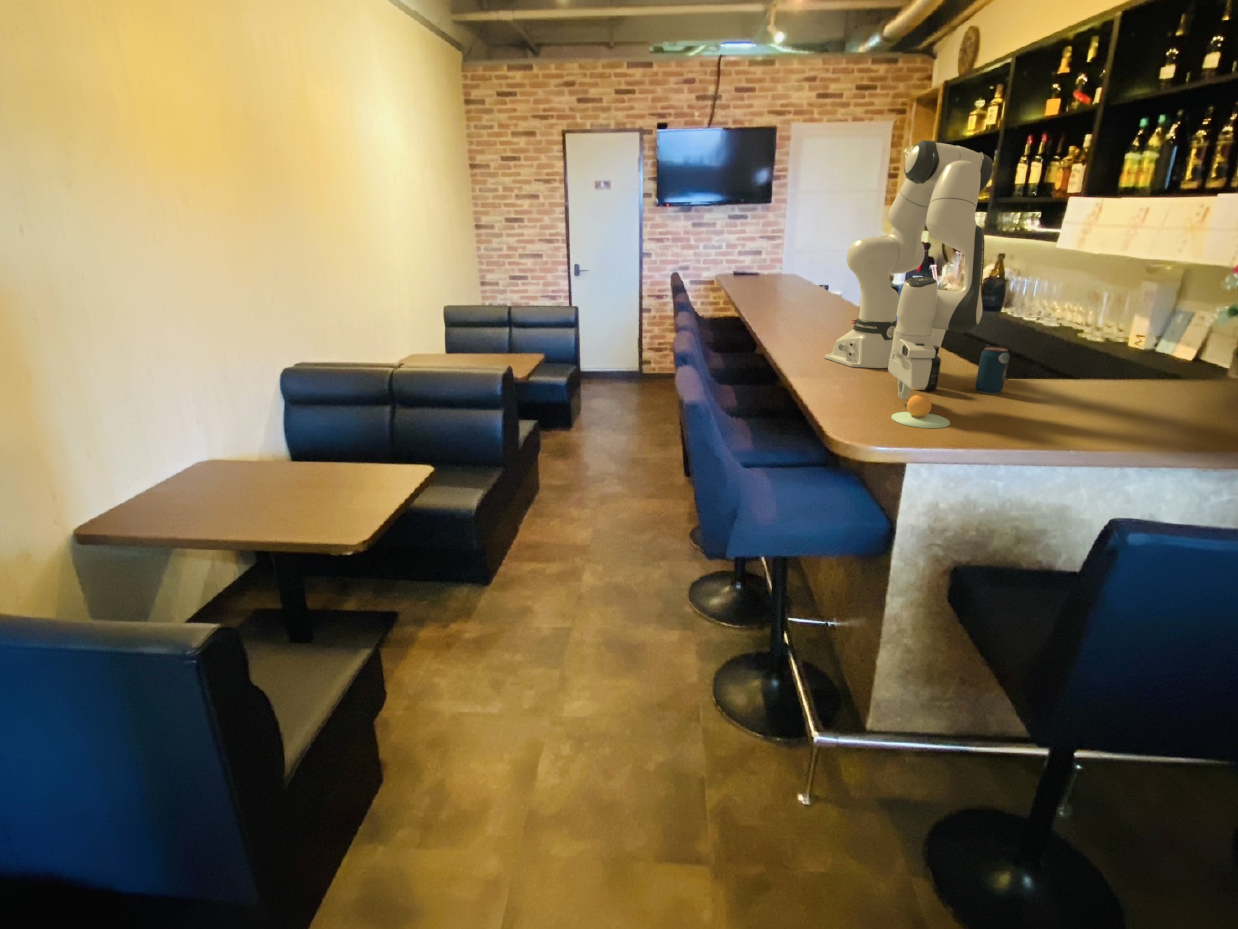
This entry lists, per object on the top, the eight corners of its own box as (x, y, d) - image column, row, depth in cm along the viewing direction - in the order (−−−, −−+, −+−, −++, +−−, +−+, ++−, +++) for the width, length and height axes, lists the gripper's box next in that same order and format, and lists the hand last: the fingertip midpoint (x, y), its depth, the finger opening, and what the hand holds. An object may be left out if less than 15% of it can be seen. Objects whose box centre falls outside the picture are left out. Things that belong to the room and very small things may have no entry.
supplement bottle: (932, 386, 197) (939, 344, 193) (940, 392, 191) (947, 348, 187) (907, 385, 198) (913, 343, 194) (914, 391, 192) (921, 348, 187)
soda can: (1007, 394, 189) (1016, 351, 184) (981, 394, 189) (989, 350, 185) (994, 388, 195) (1003, 345, 191) (969, 388, 195) (977, 345, 191)
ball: (905, 414, 166) (899, 402, 171) (921, 425, 168) (915, 413, 172) (923, 398, 164) (916, 386, 168) (939, 409, 165) (932, 397, 170)
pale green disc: (879, 417, 168) (879, 416, 168) (914, 409, 175) (914, 408, 175) (926, 431, 158) (926, 430, 158) (961, 423, 164) (961, 422, 164)
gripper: (886, 336, 184) (878, 387, 189) (911, 352, 165) (902, 408, 170) (910, 337, 183) (902, 388, 188) (938, 352, 164) (929, 409, 169)
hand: (902, 398), depth 179 cm, fingers closed
